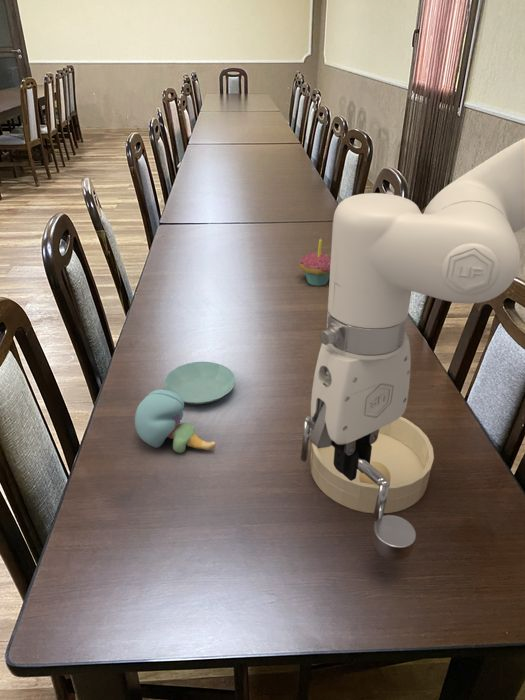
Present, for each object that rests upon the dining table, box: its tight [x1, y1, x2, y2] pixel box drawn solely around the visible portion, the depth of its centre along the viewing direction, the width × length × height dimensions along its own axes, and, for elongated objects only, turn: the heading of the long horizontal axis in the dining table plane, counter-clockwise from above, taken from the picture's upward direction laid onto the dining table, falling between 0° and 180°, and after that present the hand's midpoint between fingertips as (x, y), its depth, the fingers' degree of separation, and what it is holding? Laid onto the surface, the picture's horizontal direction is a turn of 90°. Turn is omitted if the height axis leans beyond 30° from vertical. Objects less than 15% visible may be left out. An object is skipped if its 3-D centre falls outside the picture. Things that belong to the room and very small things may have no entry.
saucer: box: [163, 361, 236, 405], centre depth 90 cm, size 12×12×2 cm
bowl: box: [309, 416, 435, 515], centre depth 74 cm, size 16×16×4 cm
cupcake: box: [299, 236, 331, 287], centre depth 126 cm, size 9×8×12 cm
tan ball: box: [359, 462, 391, 485], centre depth 70 cm, size 4×4×4 cm
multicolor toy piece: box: [134, 388, 216, 454], centre depth 77 cm, size 7×9×12 cm
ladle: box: [300, 415, 417, 561], centre depth 61 cm, size 18×4×7 cm, turn 34°
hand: (350, 468), depth 61 cm, fingers closed on ladle, 1 cm apart
